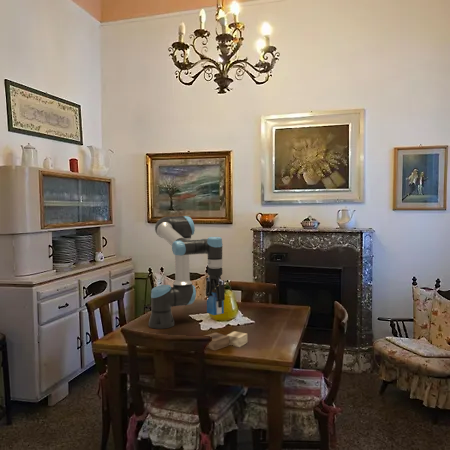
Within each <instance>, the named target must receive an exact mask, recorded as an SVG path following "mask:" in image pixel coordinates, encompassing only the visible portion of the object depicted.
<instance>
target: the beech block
mask: <svg viewBox="0 0 450 450" xmlns="http://www.w3.org/2000/svg"><path fill="white" fill-rule="evenodd" d="M225 335H226V336H229V346H232V345H233V346H232V347H237V348H241V347H242V346H245V345H246V344H248V333H245V332H242V331H231V332H230V333H228V334H225Z"/></svg>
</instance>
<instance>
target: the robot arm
mask: <svg viewBox="0 0 450 450" xmlns="http://www.w3.org/2000/svg"><path fill="white" fill-rule="evenodd" d="M195 230H196V229H195V223H194V221H193V219H192V218H191V216H188V215H187V216H186V215H185V216H184V215H180V216H178V215H175V216H173V215H172V216H164V217H161V218H159V220H157V221H156V223H155V227H154V231H155V233H156V235H157V236H158V237H159V238H160V239H164V240H165V241H166V242H167V244H169V245H171V250H172V251H171V252H172V253H173V255H174V264H175V265H174V267H175V268H174V271H175V273H174V274H175V275H174V276H175V280H174V281H173V283H172V286H171V285H170V284H161V285H157V286H154V287H153V288H152V289H151V290H150V291H151V293H150V297H151V298H150V300H151V301H150V302H151V304H150V305H151V314H150V317H149V320H148V327H149V328H151V329H155V330H157V329H159V330H160V329H161V330H163V329H169V328H172V327H174V326H175V320H174V317H173V313H172V308H173V307H179V306H180V307H181V306H187V305H192V304H194V302H195V301H196V297H197V290H196V286H195V285H193V282H192V281H191V279H190V256H191V255H205V254H206V255H207V276H208V277H207V276H206V277H205V281H206V283H205V284H206V285H205V296H206V297H207V299H208V298H209V296H212V289H215V290H216V295H217V301H216V314H217V315H221V313H222V301H225V299H226V297H225V296H226V294H225V283H226V281H225V280H222V278H221V277H222V275H223V238H222V237H220V236H208V237H207V238H202V239H192V236H194V234H195V232H196V231H195ZM222 314H223V313H222Z"/></svg>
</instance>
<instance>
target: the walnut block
mask: <svg viewBox="0 0 450 450" xmlns="http://www.w3.org/2000/svg"><path fill="white" fill-rule="evenodd" d="M226 335H227V334H222V333H219V332H216V331H215V332H211V333H209V334H205V335H204V336H210V337H212V341H211V342H210V343H209V345H208V347H206V348H207V349H209V350H212V351H217V350H220V349H223V348H225V347H229V346H230V345H229V336H226Z"/></svg>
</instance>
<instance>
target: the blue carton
mask: <svg viewBox="0 0 450 450" xmlns="http://www.w3.org/2000/svg"><path fill="white" fill-rule="evenodd" d="M216 301H217V295H216V290H215V289H212V296H209V298H208V297H207V300H206V314H210V315H212V316H216V315H218V314H216ZM224 301H225V300H223V301H222V313H221V314H222V315H223V314H224V312H225V311H224V308H225V306H224V304H225V302H224ZM221 314H220V315H221Z"/></svg>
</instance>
